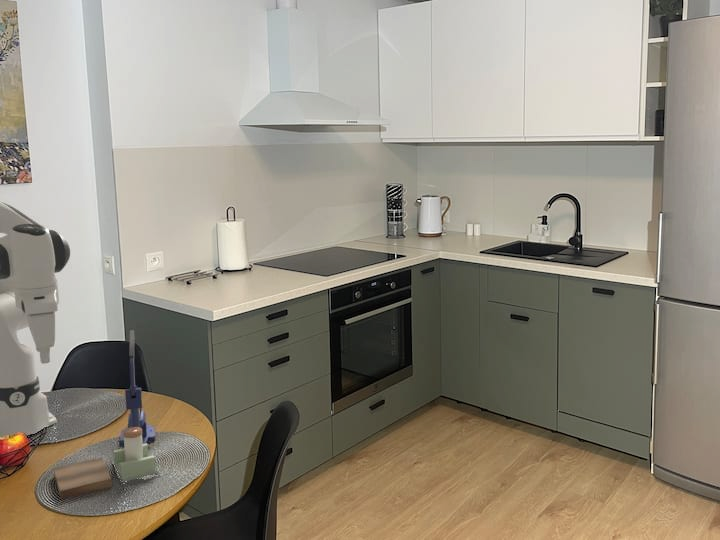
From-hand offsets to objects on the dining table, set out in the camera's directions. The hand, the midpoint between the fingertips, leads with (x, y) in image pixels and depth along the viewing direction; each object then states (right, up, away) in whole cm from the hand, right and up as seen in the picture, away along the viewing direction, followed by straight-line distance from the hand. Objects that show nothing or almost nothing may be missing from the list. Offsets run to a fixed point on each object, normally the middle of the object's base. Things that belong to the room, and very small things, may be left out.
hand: (43, 356), depth 155 cm
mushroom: (+17, -28, +11) cm, 35 cm away
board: (+7, -31, +6) cm, 32 cm away
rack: (+17, -29, +12) cm, 36 cm away
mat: (+17, -29, +12) cm, 36 cm away
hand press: (+12, -26, +28) cm, 40 cm away
